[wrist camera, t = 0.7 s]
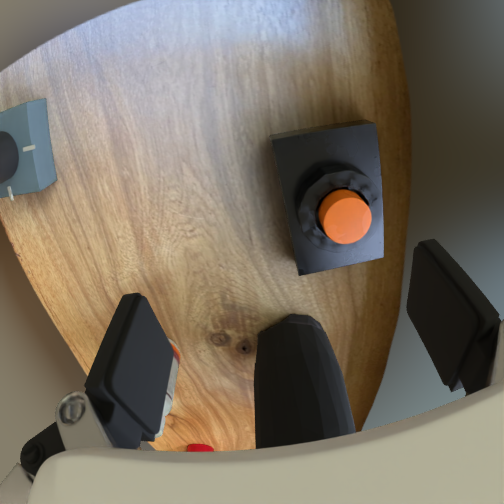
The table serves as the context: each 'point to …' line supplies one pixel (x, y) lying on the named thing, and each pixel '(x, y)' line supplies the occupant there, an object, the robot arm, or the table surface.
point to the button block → (329, 189)
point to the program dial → (7, 156)
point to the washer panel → (29, 148)
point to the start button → (344, 216)
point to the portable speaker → (298, 386)
